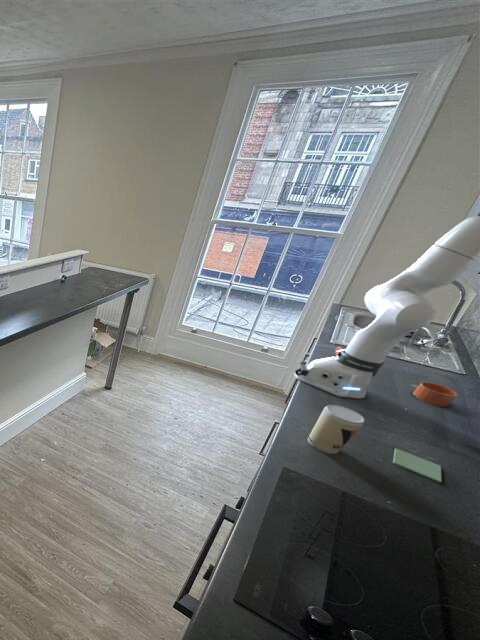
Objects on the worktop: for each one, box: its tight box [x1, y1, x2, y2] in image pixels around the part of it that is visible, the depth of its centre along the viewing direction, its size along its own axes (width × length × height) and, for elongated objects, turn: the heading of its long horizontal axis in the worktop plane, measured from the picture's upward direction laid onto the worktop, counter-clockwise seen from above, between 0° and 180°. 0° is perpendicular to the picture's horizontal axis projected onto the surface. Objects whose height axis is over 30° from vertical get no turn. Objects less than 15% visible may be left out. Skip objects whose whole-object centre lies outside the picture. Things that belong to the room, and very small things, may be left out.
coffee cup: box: [307, 404, 365, 455], centre depth 118 cm, size 9×9×12 cm
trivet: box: [392, 447, 443, 484], centre depth 116 cm, size 10×10×1 cm
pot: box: [412, 381, 459, 407], centre depth 151 cm, size 10×10×5 cm
